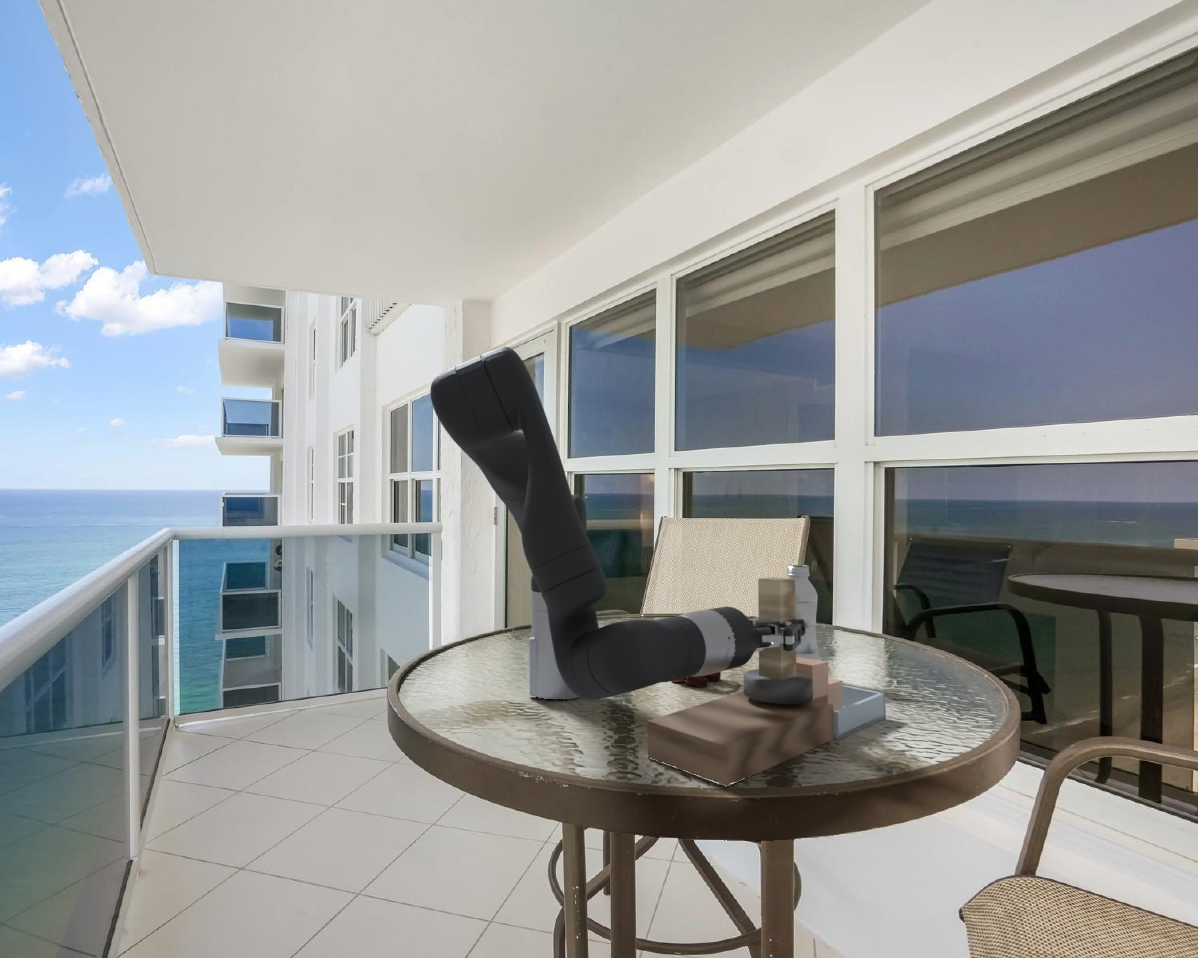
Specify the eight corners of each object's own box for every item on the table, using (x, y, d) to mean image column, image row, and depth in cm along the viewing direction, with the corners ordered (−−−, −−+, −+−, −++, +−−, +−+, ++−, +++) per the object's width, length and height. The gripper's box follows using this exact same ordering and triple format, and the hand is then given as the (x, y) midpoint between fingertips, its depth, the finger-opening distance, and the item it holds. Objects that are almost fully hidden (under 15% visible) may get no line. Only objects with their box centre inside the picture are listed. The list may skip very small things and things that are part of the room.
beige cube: (827, 684, 94) (842, 680, 97) (798, 679, 97) (814, 675, 100) (827, 717, 93) (842, 712, 96) (798, 710, 96) (814, 706, 100)
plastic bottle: (824, 684, 114) (820, 567, 115) (783, 682, 116) (779, 567, 117) (819, 674, 121) (815, 564, 122) (780, 673, 122) (777, 564, 123)
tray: (838, 739, 87) (837, 712, 87) (755, 717, 96) (755, 693, 97) (885, 718, 95) (884, 693, 95) (805, 699, 105) (804, 677, 105)
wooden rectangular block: (726, 787, 72) (725, 745, 72) (647, 758, 81) (647, 720, 81) (834, 739, 87) (833, 704, 87) (757, 718, 96) (756, 686, 96)
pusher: (787, 707, 83) (786, 582, 84) (729, 693, 90) (729, 577, 91) (826, 696, 89) (824, 579, 90) (769, 683, 96) (768, 575, 97)
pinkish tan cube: (812, 699, 90) (812, 665, 91) (782, 692, 94) (783, 660, 94) (828, 694, 93) (828, 661, 94) (799, 688, 97) (799, 656, 97)
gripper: (756, 616, 75) (835, 602, 87) (665, 604, 86) (746, 593, 97) (757, 683, 75) (837, 660, 86) (666, 663, 86) (747, 645, 97)
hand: (788, 624), depth 92 cm, fingers closed on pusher, 3 cm apart
